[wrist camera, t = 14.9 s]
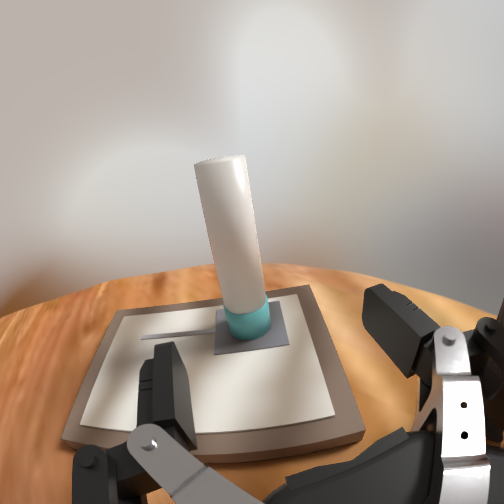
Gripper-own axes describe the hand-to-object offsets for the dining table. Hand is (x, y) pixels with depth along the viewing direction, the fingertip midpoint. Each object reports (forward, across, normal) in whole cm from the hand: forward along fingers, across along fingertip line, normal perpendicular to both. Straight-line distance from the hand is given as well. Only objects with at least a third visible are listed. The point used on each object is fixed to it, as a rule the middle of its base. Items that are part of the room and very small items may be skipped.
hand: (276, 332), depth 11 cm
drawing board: (+7, +4, +9) cm, 13 cm away
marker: (+10, 0, +7) cm, 12 cm away
